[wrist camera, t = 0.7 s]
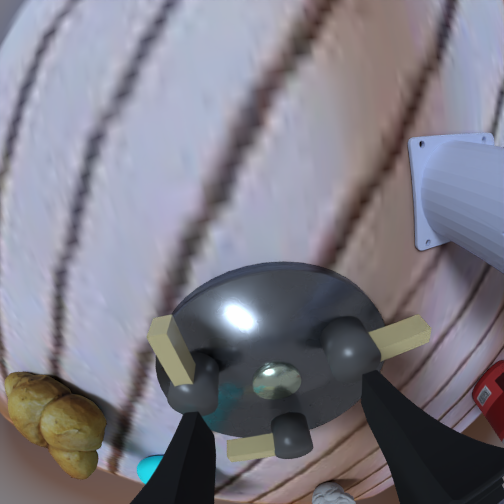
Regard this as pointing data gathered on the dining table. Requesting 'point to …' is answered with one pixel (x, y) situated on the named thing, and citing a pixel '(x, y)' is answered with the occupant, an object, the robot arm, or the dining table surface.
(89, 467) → the bread roll
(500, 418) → the canned food
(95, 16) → the dining table surface
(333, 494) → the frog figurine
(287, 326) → the tribrach plate
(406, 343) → the knob near arm
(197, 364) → the grey and khaki peg
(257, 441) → the grey knob khaki handle
